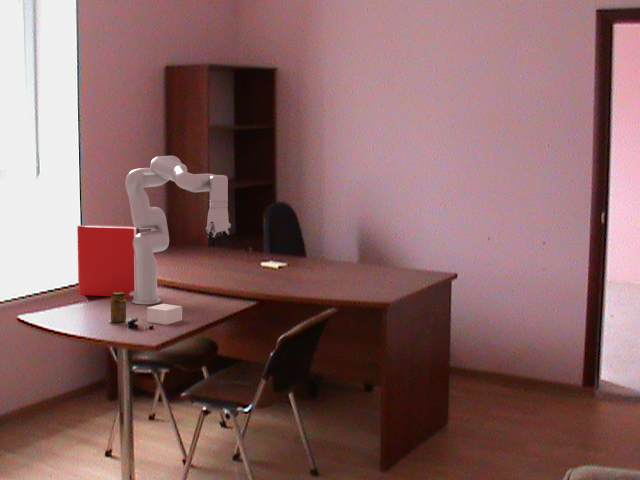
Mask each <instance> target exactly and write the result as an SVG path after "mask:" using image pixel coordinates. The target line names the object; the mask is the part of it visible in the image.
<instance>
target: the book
mask: <svg viewBox="0 0 640 480" xmlns="http://www.w3.org/2000/svg"><path fill="white" fill-rule="evenodd" d="M139 233H140V229H137V228H136V227H135V226H134V225H113V224H112V225H110V224H107V225H106V224H79V225H77V272H78V274H77V277H78V279H77V280H78V281H77V282H78V284H77V285H78V287H77V289H78V295H79V296H96V297H98V296H99V297H112V293H114V292H123V293H125V298H127V297H128V298H134V296H130V293H131V291H136V281H135V254H134V249H133V239H134V237H135V236H136V235H137V234H139Z"/></svg>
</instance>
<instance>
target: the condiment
mask: <svg viewBox="0 0 640 480" xmlns="http://www.w3.org/2000/svg"><path fill="white" fill-rule="evenodd" d="M107 322H108V323H109V324H110V325H112V326H115V325H118V326H120V325H129V324H128V322H129V321H128V322H127V300H126V297H125V293H123V292H114V293H112V296H111V300H110V320H107Z"/></svg>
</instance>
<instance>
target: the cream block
mask: <svg viewBox="0 0 640 480" xmlns="http://www.w3.org/2000/svg"><path fill="white" fill-rule="evenodd" d="M146 315H147V316H146V320H147V321H146V322H147V323H151V324H158V325H159V324H161V325H166V326H167V325H171V324H173V323H174V324H175V323H178V322H180V321H183V305H182V306H181V305H174V304H167V303H161V304H160V303H159V304H157V305H153V306H149V307H148V306H147V307H146Z"/></svg>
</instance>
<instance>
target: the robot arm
mask: <svg viewBox="0 0 640 480" xmlns="http://www.w3.org/2000/svg"><path fill="white" fill-rule="evenodd" d="M169 181H171V182H174V183H175V184H176V186H177V187H179V188H180V189H183V190H185V191H188V192H191V193H204V192H205V193H207V192H209V209H208V213H207V220H206V221H207V222H206V227H205V231H206V235H207V239H208V240H207V241H208V248H209V247H210V248H216V246H217V244H216V243H217V239H216V234H217V233H221V235H220V239H221V241H220V243H221V245H229V235H230V230H231V225H232V224H231V223H230V222H229V211H228V209H229V208H228V207H229V205H228V202H229V197H228V196H229V195H228V193H229V191H228V190H229V189H228V186H229V182H228V181H229V178H228V176H227V175H224V174H213V173H195V174H194V173H192V172H188V167H187V166H186V164H184V163H182V161H181V160H180V158H179V157H177V156H175V155H161V156H155V157H154V158H153V159H152V160H151V162H150V166H149V167H143V168H142V167H141V168H135V169H133V170H131V171H129V173H128V174H127V176H126V178H125V183H124V185H125V189H126V193H127V197H128V200H129V206H130V212H131V219H132V224H133V226H135V227H136V228H137V229H139V230H146V229H147V230H148V229H150V231H143V232H139V234H137V235H136V236H135V237H134V239H133V249H134V254H135V281H136V291H131V293H130V296H134V297H133V298H132V299H131V300H132V301H131V303H133V304H136V305H155V304H160V303H161V302H162V301H161V298H160V297H158V262H157V259H156V257H155V255H154V253H158V252H163V251H165V250H166V249H168V247H169V244H170V236H169V234H170V233H169V228H168V223H167V218H166V217H167V216H166V214H165V211H164V210H163V209H162V208H161V207H158V206H151V205H150V200H149V195H148V194H147V192H146V191H145V190H144V188H152V187H153V188H154V187H160V186H162V185H165V184H166V183H167V182H169Z"/></svg>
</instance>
